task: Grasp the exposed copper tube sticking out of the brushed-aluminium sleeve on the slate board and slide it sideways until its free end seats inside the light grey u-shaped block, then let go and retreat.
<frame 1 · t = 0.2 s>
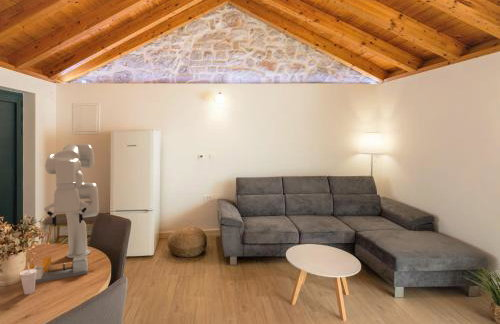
hand: (68, 223, 138), 31 cm above the table, fingers open, 9 cm apart
board: (61, 275, 154), on the table
light grey u-shaped block: (38, 278, 150), resting on board
tube: (66, 266, 155), point 4 cm above the table, slide at 0.0 cm
sleeve: (79, 271, 158), resting on board
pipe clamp: (38, 273, 156), on the table, touching board, light grey u-shaped block
smoothie: (29, 292, 137), on the table
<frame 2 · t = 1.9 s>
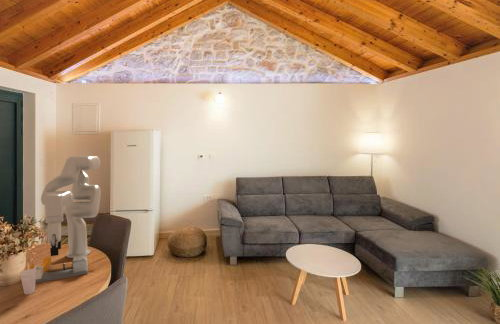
hand: (56, 252, 152), 12 cm above the table, fingers open, 9 cm apart
nothing on the table moved.
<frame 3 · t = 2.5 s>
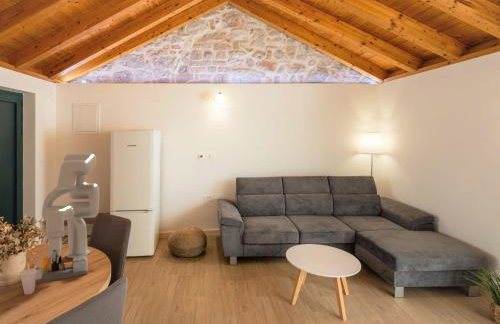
hand: (56, 267, 152), 5 cm above the table, fingers open, 9 cm apart
nothing on the table moved.
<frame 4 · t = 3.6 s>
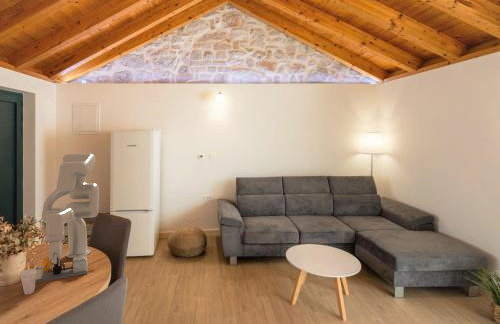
hand: (57, 271, 153), 2 cm above the table, fingers closed on tube, 3 cm apart
tube: (66, 266, 155), point 4 cm above the table, slide at 0.0 cm, touching gripper
everything else where it was.
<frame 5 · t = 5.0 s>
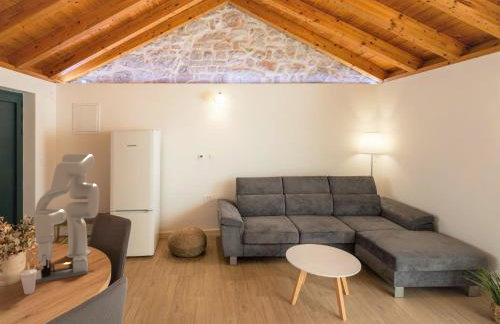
hand: (47, 273, 151), 2 cm above the table, fingers closed on tube, 3 cm apart
tube: (56, 267, 153), point 4 cm above the table, slide at 4.5 cm, touching gripper
everything else where it was.
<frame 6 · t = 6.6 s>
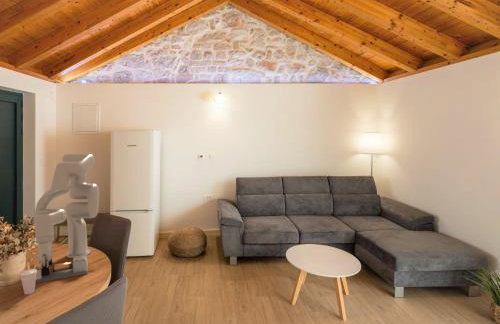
hand: (47, 271, 151), 3 cm above the table, fingers open, 9 cm apart
tube: (56, 267, 153), point 4 cm above the table, slide at 4.5 cm
everything else where it was.
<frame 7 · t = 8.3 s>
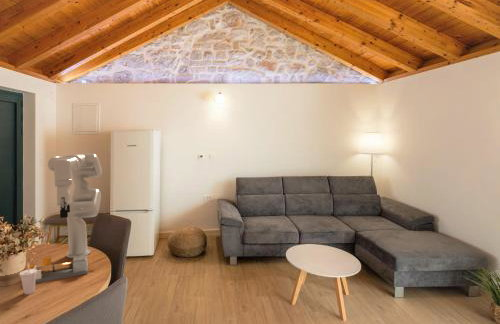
hand: (65, 214, 159), 29 cm above the table, fingers open, 9 cm apart
nothing on the table moved.
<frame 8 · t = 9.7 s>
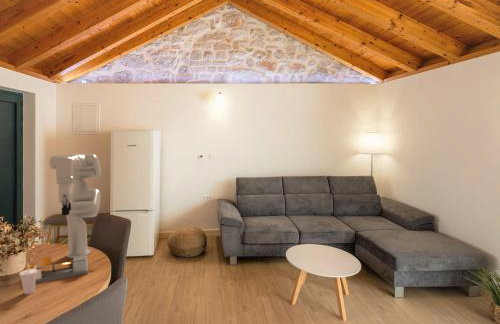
hand: (66, 212, 159), 30 cm above the table, fingers open, 9 cm apart
nothing on the table moved.
at the end: tube slide at 4.5 cm; the gripper is holding nothing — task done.
